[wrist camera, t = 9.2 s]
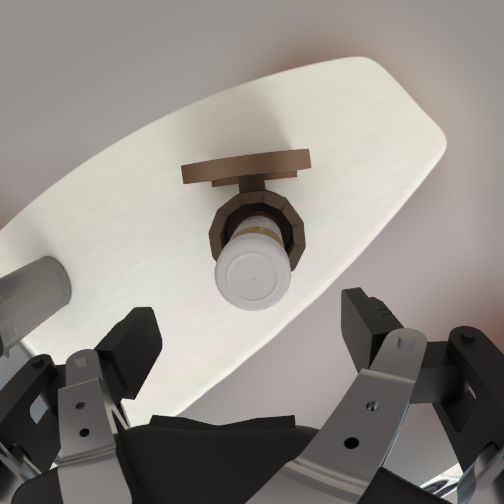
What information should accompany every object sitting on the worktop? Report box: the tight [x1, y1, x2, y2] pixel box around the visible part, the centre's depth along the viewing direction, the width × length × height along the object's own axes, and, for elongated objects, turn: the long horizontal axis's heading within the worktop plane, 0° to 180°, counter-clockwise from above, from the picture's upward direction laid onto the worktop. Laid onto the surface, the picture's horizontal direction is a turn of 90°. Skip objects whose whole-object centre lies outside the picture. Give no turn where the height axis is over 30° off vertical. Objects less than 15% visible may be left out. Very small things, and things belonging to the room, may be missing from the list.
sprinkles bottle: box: [215, 211, 291, 311], centre depth 22 cm, size 5×5×14 cm
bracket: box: [181, 149, 311, 272], centre depth 27 cm, size 10×12×12 cm
